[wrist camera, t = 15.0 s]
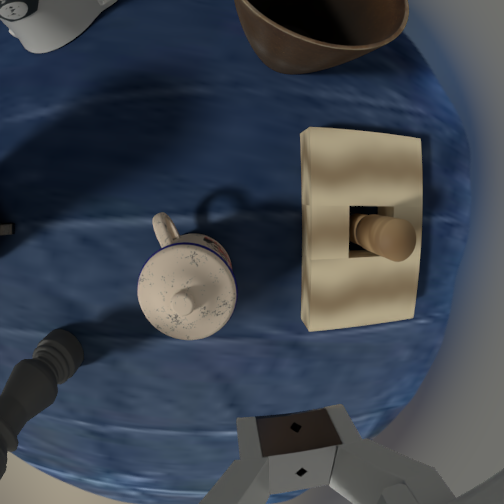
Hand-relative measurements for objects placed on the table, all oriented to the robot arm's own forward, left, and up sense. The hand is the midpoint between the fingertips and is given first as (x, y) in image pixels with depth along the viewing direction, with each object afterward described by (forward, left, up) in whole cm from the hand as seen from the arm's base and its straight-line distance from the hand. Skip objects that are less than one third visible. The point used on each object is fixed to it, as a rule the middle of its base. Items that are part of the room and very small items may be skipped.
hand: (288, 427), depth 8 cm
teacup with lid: (+1, -6, -29) cm, 29 cm away
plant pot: (-24, +6, -29) cm, 38 cm away
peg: (-2, +14, -28) cm, 32 cm away
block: (-2, +14, -28) cm, 32 cm away
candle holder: (+13, -25, -29) cm, 40 cm away
